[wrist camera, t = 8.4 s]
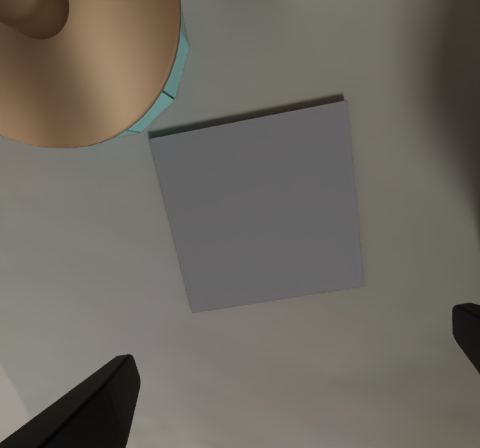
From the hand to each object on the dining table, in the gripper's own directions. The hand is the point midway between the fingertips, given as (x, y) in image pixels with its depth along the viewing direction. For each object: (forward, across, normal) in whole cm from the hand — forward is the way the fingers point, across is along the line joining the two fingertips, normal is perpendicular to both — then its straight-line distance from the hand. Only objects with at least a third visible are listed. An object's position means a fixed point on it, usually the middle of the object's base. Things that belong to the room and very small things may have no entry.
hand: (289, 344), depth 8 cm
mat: (+12, 0, -1) cm, 12 cm away
